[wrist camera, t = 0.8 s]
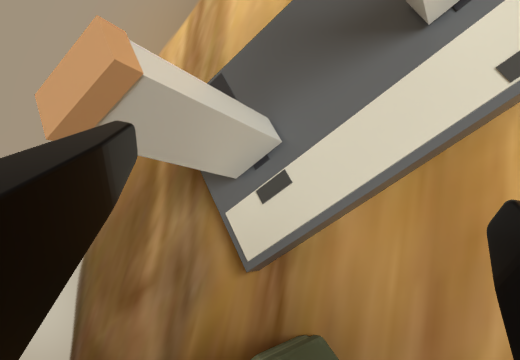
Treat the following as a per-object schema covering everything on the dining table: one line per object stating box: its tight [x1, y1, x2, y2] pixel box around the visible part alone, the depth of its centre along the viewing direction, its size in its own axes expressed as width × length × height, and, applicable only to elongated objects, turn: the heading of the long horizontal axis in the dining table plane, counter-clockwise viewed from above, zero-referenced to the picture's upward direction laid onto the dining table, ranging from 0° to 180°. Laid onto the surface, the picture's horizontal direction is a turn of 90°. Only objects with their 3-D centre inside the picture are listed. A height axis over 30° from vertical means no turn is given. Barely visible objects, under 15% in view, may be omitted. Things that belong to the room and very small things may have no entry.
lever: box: [35, 15, 282, 179], centre depth 18 cm, size 2×4×12 cm, turn 121°
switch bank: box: [200, 0, 520, 272], centre depth 22 cm, size 14×22×2 cm, turn 121°
